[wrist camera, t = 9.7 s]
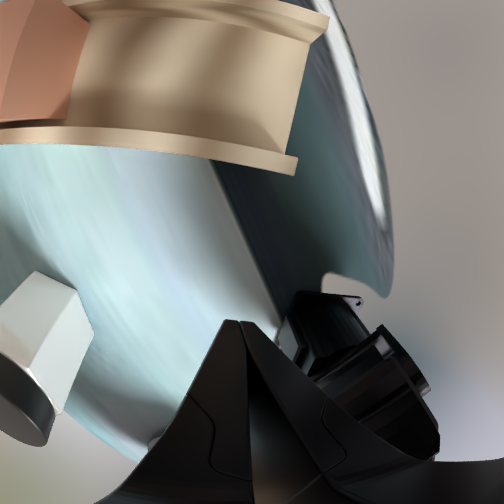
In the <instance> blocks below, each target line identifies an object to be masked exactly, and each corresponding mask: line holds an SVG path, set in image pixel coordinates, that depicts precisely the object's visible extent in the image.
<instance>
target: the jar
mask: <svg viewBox="0 0 504 504" xmlns="http://www.w3.org/2000/svg"><path fill="white" fill-rule="evenodd" d="M93 336H94V330H93V328H92V326H91V324H90V322H89V319H88V317H87V315H86V312H85V310H84V307H83V305H82V302H81V300H80V297H79V295H78V292H77V290H75V289H73V288H71V287H68V286H66V285H64V284H62V283H60V282H58V281H56V280H54V279H52V278H50V277H48V276H46V275H44V274H42V273H40V272H38V271H34V272H33V273H32V274H31V275H30V276H29V277H27V278H26V279H25V280H24V281H23V283H22V284H21V285H20V286H19V287H18V288H17V289H16V290H15V291H14V292H13V293H12V294H11V295H10V296H9V297H8V298H7V299H6V300H5V301H4V302H3V304H2V305H1V306H0V430H1V431H3V432H4V433H6V434H8V435H9V436H11V437H13V438H14V439H16V440H18V441H20V442H23V443H25V444H28V445H31V446H36V447H42V446H45V445H46V444H47V441H48V438H49V435H50V431H51V429H52V426H53V423H54V420H55V416H57V415H59V414H61V413H62V412H63V409H64V406H65V403H66V400H67V398H68V395H69V392H70V390H71V387H72V385H73V382H74V380H75V377H76V375H77V372H78V370H79V368H80V365H81V363H82V361H83V358H84V356H85V354H86V352H87V349H88V347H89V345H90V343H91V340H92V338H93Z"/></svg>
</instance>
